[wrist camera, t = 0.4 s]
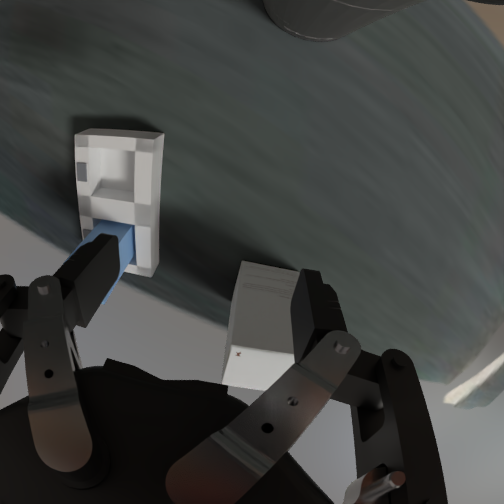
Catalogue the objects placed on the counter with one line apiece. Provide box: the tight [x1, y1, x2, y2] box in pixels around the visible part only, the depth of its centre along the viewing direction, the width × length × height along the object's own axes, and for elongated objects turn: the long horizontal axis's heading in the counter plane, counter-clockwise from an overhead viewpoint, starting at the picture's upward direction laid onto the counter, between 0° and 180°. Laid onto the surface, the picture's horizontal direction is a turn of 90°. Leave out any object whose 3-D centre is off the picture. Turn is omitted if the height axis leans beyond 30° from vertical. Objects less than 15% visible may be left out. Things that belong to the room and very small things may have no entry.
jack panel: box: [75, 128, 164, 277], centre depth 29 cm, size 16×9×3 cm, turn 170°
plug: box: [63, 219, 136, 304], centre depth 28 cm, size 4×4×11 cm
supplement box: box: [221, 261, 300, 391], centre depth 31 cm, size 7×7×13 cm
